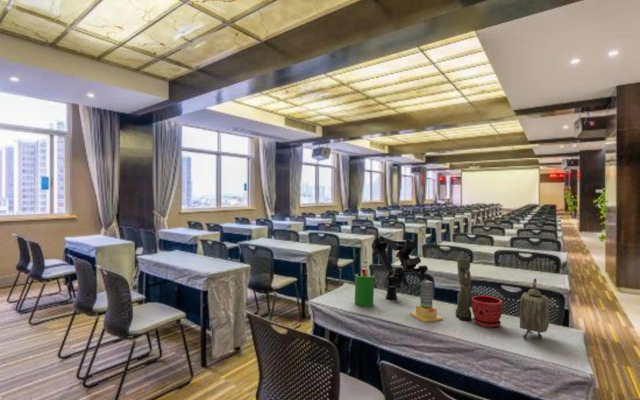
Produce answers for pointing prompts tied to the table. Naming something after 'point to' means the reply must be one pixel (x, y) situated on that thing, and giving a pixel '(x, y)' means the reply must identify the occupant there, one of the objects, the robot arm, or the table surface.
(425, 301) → the column
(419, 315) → the stand base
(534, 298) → the tabletop clock
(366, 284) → the green pencil holder
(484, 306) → the plant pot
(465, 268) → the mechanical leg
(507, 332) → the table surface
